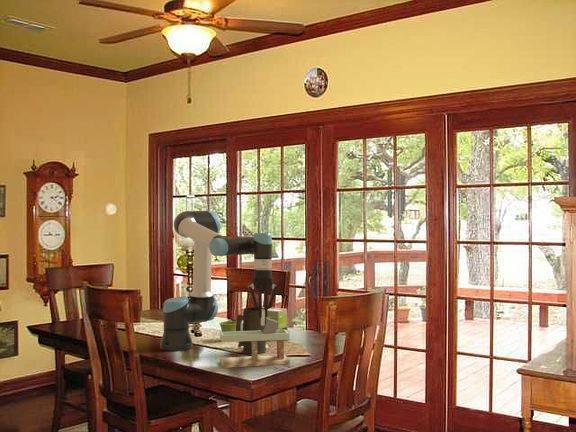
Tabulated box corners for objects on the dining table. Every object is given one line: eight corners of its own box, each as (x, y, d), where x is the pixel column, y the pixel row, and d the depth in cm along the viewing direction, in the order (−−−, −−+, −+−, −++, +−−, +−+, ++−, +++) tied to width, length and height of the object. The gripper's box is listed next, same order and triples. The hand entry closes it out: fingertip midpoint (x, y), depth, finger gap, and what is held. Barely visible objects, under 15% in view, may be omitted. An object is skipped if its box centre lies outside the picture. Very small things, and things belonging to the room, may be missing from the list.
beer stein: (254, 347, 289) (252, 305, 288) (272, 350, 282) (269, 307, 281) (231, 355, 277) (229, 311, 276) (249, 359, 270) (246, 313, 269)
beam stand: (222, 367, 251) (222, 344, 251) (220, 361, 262) (219, 339, 262) (289, 363, 256) (289, 340, 256) (285, 357, 267) (284, 335, 267)
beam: (221, 342, 252) (221, 335, 252) (220, 338, 260) (220, 331, 260) (288, 339, 258) (288, 333, 258) (285, 335, 266) (285, 329, 266)
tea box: (252, 338, 312) (252, 308, 312) (262, 334, 321) (261, 306, 321) (278, 340, 305) (278, 310, 305) (287, 336, 314) (287, 307, 314)
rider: (262, 332, 257) (267, 319, 257) (261, 330, 262) (265, 317, 262) (274, 336, 258) (278, 322, 258) (272, 334, 263) (276, 321, 263)
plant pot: (235, 342, 302) (235, 324, 302) (217, 341, 304) (216, 324, 304) (240, 338, 312) (240, 321, 312) (222, 337, 313) (222, 320, 313)
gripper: (248, 270, 255) (248, 327, 254) (279, 269, 257) (279, 326, 257) (246, 268, 262) (246, 324, 262) (276, 268, 265) (276, 323, 264)
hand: (262, 325), depth 259 cm, fingers closed
